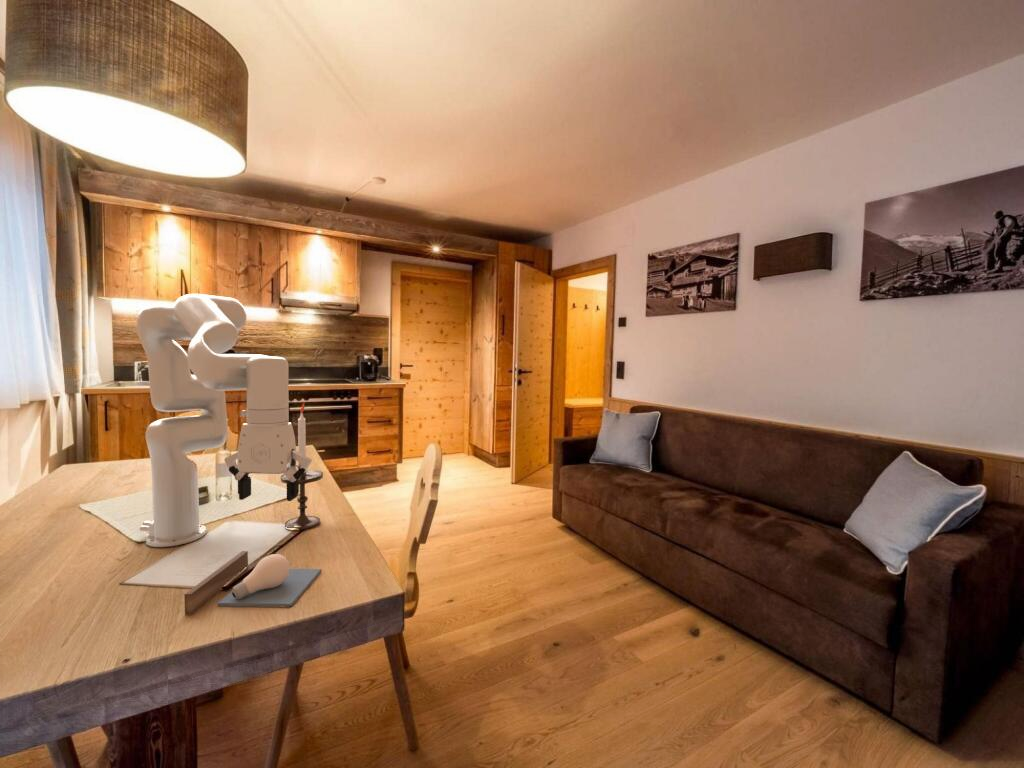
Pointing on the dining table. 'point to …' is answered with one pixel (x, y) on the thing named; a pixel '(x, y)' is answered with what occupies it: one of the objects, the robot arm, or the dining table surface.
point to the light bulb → (263, 576)
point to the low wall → (214, 583)
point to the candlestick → (303, 483)
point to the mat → (276, 591)
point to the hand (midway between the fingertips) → (268, 498)
